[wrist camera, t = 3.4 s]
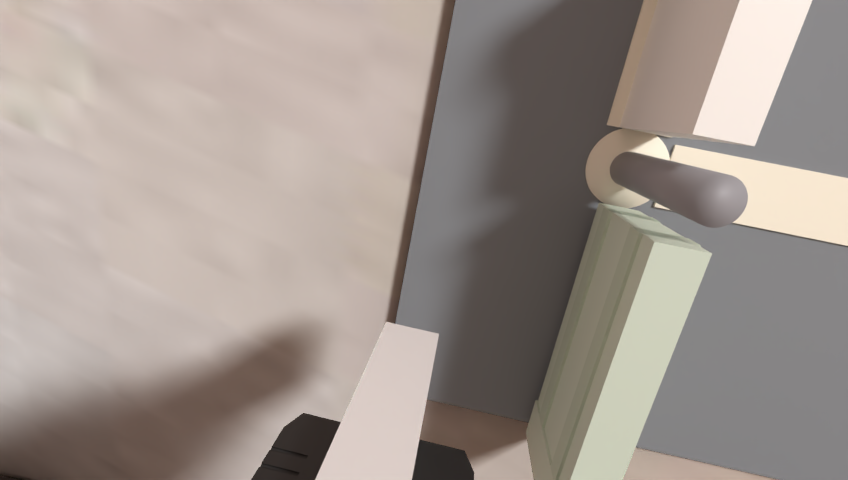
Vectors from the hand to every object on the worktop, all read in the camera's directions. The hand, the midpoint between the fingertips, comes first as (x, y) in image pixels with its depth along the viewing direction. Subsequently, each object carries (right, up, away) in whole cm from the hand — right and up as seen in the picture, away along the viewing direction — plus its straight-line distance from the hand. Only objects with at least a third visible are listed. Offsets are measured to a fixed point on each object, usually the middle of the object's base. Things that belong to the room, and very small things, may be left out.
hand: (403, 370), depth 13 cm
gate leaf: (+6, 0, +4) cm, 8 cm away
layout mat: (+10, +5, +4) cm, 12 cm away
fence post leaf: (+8, +9, +3) cm, 13 cm away
